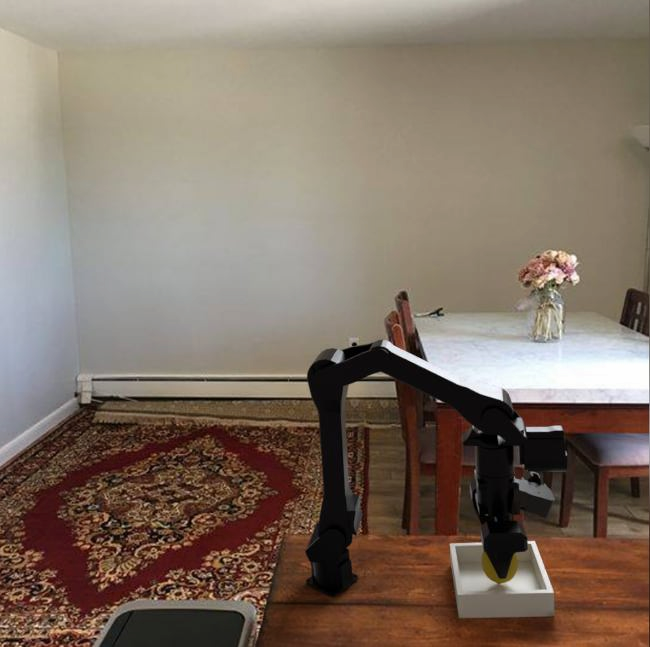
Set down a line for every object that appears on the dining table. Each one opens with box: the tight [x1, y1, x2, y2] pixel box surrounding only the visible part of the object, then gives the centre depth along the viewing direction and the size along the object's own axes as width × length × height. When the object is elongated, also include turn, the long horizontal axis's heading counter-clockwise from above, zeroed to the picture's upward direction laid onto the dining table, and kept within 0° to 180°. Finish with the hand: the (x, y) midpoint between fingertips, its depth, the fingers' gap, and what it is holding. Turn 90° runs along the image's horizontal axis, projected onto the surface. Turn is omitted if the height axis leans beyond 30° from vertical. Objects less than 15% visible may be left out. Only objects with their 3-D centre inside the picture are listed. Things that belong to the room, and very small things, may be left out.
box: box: [449, 540, 555, 619], centre depth 110 cm, size 14×14×4 cm
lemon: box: [482, 550, 518, 584], centre depth 110 cm, size 6×6×8 cm
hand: (497, 560), depth 110 cm, fingers open, 9 cm apart
